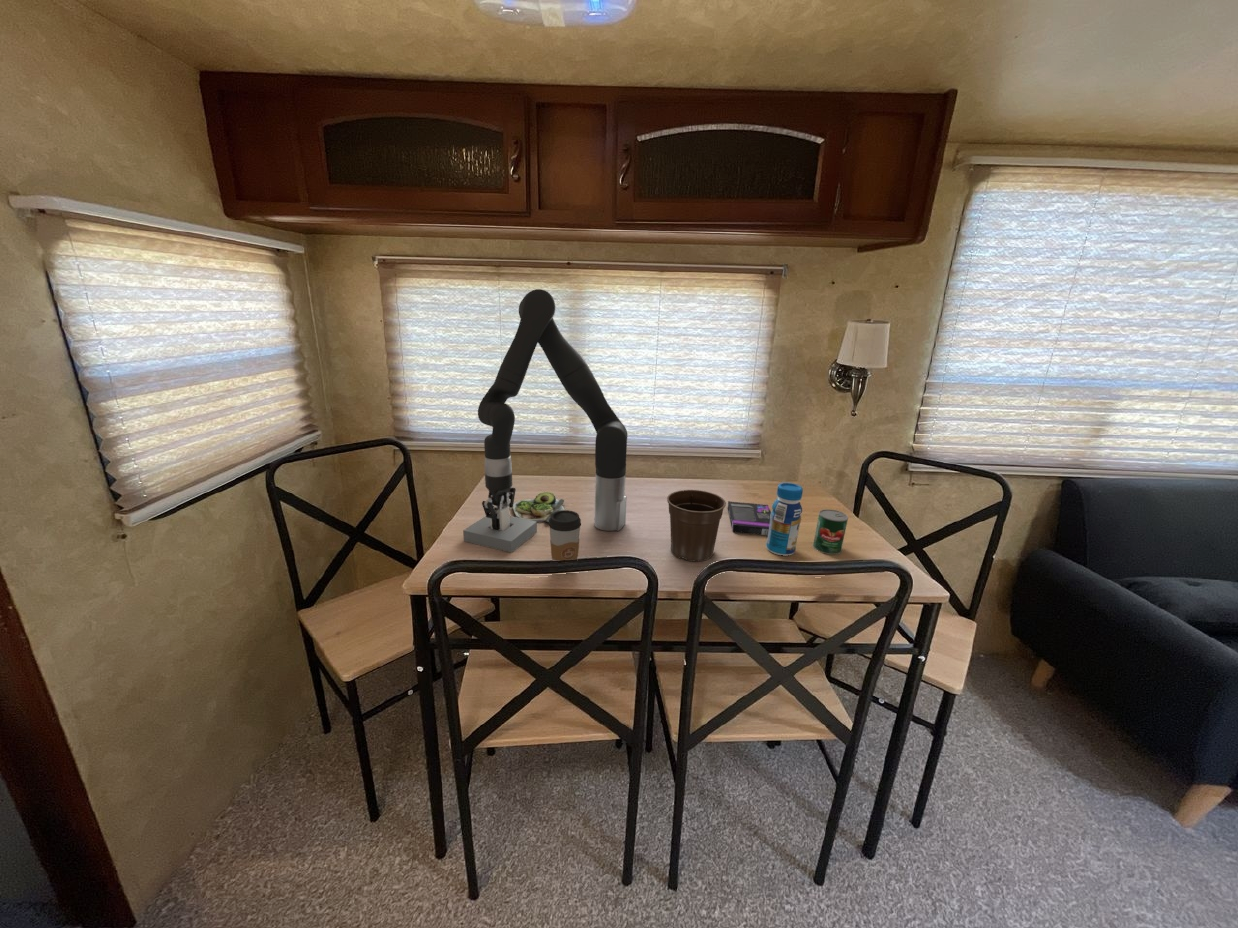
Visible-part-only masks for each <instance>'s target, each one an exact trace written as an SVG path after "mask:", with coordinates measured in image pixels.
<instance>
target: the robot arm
mask: <svg viewBox="0 0 1238 928" xmlns="http://www.w3.org/2000/svg"><path fill="white" fill-rule="evenodd" d="M518 305H519V306H518V315H519V318H520V320H519V324H518V328H517V330H516V333H515V335H514V337H513V340H512V342H511V343H510V345H509V347H508V349H507V351H506V352H505V353H506V354H505V356H504V357H503V360H502V362H501V364H500V366H499V370H498V372H497V375H496V376H495V379H494V382H493V384H492V385H491V386H490V388H489V389H488V390H487V391H486V394H484V396H483V397H482V399H481V400H480V403H479V405H478V407H477V416H478V420H479V421H480V422H481V423H482V424H483V425H486V426H488V427H489V426H490V427H492V432H491V434H488V435H487V436H485V438H484V441H483V442H484V443H483V447H484V461H483V462H484V464H483V465H484V481H485V482H484V484H485V486H484V487H485V488H486V489H487V490H488V495H487V499H486V500H482V502H481V505H482V508H483V511H484V515H485V516H486V517H487V518H492V528H493V529H495V530H499V529H500V518H499V517H500V511H501V510H502V505H503V506H506V507H507V506H508V507H509V510H510V511H511V509H513V504H514V503H515V495H516V491H517V490H516V487H513V466H512V465H513V463H512V457H511V439H512V436H513V431H514V427H515V421H516V419H515V417H516V416H515V412H514V410H513V408H512V406H510V404H508V403H506V402H507V401H508V399H510V398H515V397H516V396H518V394H519V393H520V390H521V388H522V385H523V383H524V380H525V377H526V374H527V372H528V369H529V366H530V363H531V360H532V358H533V355H534V352H535V349H536V348H537V346H538V345H539V346H540V348H541V349H542V351H543V353H544V355H545V357H546V359H547V360H548V362H549V364H550V366H551V367H552V369H553V371H554V372H555V374H556V376H557V378H558V380H559V381H560V383H561V385H562V386H563V388H564V390H565V391H566V393H567V394H568V395H569V397H570V398H571V400H573V401H574V402H575V404H577V405H578V407H580V408H581V410H583V412H584V413H585V414H586V416H587V417H588V419H589V420H590V422H591V424H592V426H593V428H594V431H595V433H596V436H595V445H594V447H595V448H594V449H595V452H594V458H595V459H594V466H595V481H594V482H595V486H594V489H595V490H594V519H593V520H594V522H593V523H594V527H596V528H597V529H598V530H600V531H609V532H611V531H618V532H620V531H621V529H622V528H623V527H624V526H625V525H626V521H627V520H626V519H627V500H628V497H627V496H626V495H625V494H626V492H625V491H626V471H627V450H628V449H627V448H628V447H627V446H628V437H629V436H628V431H627V429H626V426H625V425H624V424H623V422H622V421H621V420H620V418H619V417H618V416H617V414H616V413H615V412H614V410H613V409H612V407H611V406H610V405H609V403H608V401H607V399H606V397H605V395H604V393H603V391H602V389H601V387H600V385H599V382H598V381H597V379H596V377H595V376H594V374H593V372H592V370H591V368H590V366H589V365H588V363H587V362H586V360H585V359H584V358H583V356H582V355H581V354H580V353H579V351H578V350H577V349H576V348H575V347H574V346H572V344H571V343H569V341H568V340H567V339H566V338H565V337H564V335H563V334H562V333H561V331H560V329H559V327H558V325H557V323H556V322H555V319H554V316H555V314H556V301H555V299H554V298H553V296H552V294H551V293H550V292H548V291H547V290H545V289H539V288H537V289H532V290H530V291H529V292H527V293H526V294H525V295H524V297H522V300H521V301H520V303H519V304H518ZM495 506H498V507H495ZM494 510H496V514H495V511H494Z"/></svg>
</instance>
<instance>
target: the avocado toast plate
mask: <svg viewBox="0 0 1238 928" xmlns="http://www.w3.org/2000/svg"><path fill="white" fill-rule="evenodd" d="M564 502H565V499H563V498H560V499H557V498H556V495H554V493H552V492H548V491H547V492H545V491H544V492H541V493H539V494H537V495H536V496H535V498H531V499H519V500H517V501H515V502H514V503H513V507H512V511H513V513H514V515H515V517H517V518H522V519H527V520H531V521H536V522H537V523H542V522H543V523H544V522H545V523H549V519H550V517H551V514H552V513H554V512H557V511H561V510H565V508H564V506H563V504H564ZM522 514H526V515H532V516H534V517H533V518H527V517H524V516H523V515H522Z"/></svg>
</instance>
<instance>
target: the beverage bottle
mask: <svg viewBox="0 0 1238 928" xmlns="http://www.w3.org/2000/svg"><path fill="white" fill-rule="evenodd" d="M803 492H804V488H803V487H802V486H801V485H799V484H796V483H793V482H781V483H779V484H778V485H777V490H776V496H777V498H776V499H775V500H774V501H773V503H772V506H771V509H772V511H771V514H770V525H769V532H768V535H767V539H766V546H765V547H766V549H767V550H768V551H769V552H771V553H772V554H775V555H777V556H781V555H783V557H785V556H786V557H787V556H788V555H789V556H792V555H794V554H795V552H796V546H797V542H798V541H797V540H798V535H799V530H800V527H801V526H800V524H801V522H802V516H801V514H802V513H803V508H802V504H801V502H800V501H801V500H802V498H803V494H804V493H803Z"/></svg>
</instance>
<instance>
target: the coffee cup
mask: <svg viewBox="0 0 1238 928" xmlns="http://www.w3.org/2000/svg"><path fill="white" fill-rule="evenodd" d="M581 526H582V519H581V517H580V515H579V513H578V512H576V511H575V510H574V511H573V510H570V509H569V510H566V509H564V510H561V511H557V512H554V513H552V514H551V517H550V519H549V522H548V527H549V536H550V537H549V539H550V553H551V559H552V560H572V559H577V560H578V558H579V557H578V556H579V549H580V531H581ZM552 560H551V561H552Z"/></svg>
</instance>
